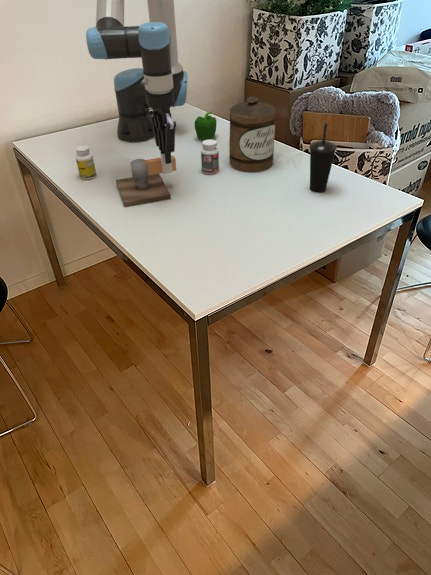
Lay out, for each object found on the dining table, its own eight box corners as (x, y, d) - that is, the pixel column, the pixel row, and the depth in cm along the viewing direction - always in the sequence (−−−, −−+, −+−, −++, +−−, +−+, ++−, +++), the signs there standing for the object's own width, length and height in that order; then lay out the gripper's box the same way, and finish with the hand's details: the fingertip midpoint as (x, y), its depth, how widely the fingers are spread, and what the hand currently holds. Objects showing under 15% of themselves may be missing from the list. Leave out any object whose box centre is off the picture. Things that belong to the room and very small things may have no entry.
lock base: (116, 183, 146) (113, 168, 142) (159, 176, 149) (157, 161, 146) (124, 207, 134) (121, 190, 131) (170, 199, 137) (169, 182, 134)
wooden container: (246, 176, 148) (247, 107, 134) (221, 161, 157) (219, 95, 143) (281, 165, 154) (286, 97, 140) (255, 150, 163) (257, 86, 149)
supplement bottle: (76, 176, 151) (70, 148, 144) (90, 171, 154) (84, 143, 147) (86, 181, 148) (79, 152, 141) (100, 175, 151) (94, 147, 144)
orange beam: (133, 179, 136) (132, 167, 133) (131, 172, 139) (129, 160, 137) (177, 172, 139) (176, 159, 136) (173, 165, 142) (172, 153, 140)
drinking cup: (314, 181, 144) (322, 117, 131) (335, 188, 139) (345, 123, 127) (300, 189, 140) (306, 124, 127) (320, 197, 135) (329, 131, 123)
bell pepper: (197, 144, 169) (196, 117, 163) (193, 136, 175) (191, 110, 169) (219, 142, 170) (219, 115, 164) (214, 134, 177) (213, 107, 170)
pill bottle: (217, 175, 149) (216, 146, 142) (200, 174, 150) (198, 145, 143) (220, 168, 153) (219, 139, 147) (204, 167, 154) (202, 138, 148)
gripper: (136, 86, 124) (147, 167, 139) (156, 98, 115) (165, 183, 130) (161, 81, 127) (169, 161, 142) (183, 93, 118) (188, 177, 133)
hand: (167, 172), depth 136 cm, fingers closed
